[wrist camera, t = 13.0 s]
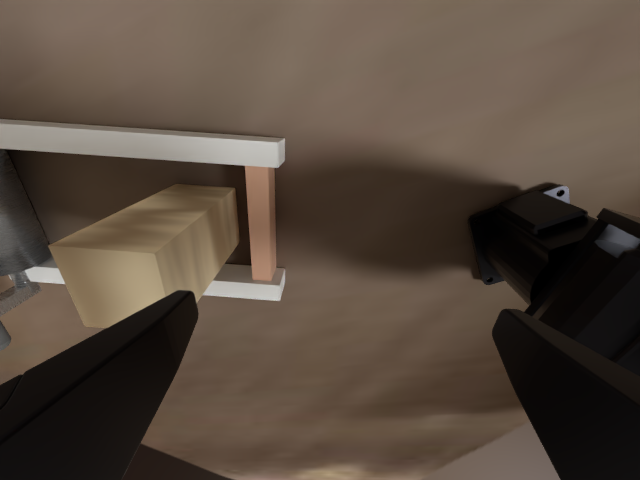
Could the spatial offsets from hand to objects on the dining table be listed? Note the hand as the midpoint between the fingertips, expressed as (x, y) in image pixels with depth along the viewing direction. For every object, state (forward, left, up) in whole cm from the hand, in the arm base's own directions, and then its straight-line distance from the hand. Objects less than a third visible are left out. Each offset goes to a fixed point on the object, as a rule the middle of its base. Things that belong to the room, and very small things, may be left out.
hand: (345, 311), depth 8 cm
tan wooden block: (+2, +10, -13) cm, 17 cm away
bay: (+4, +16, -13) cm, 21 cm away
